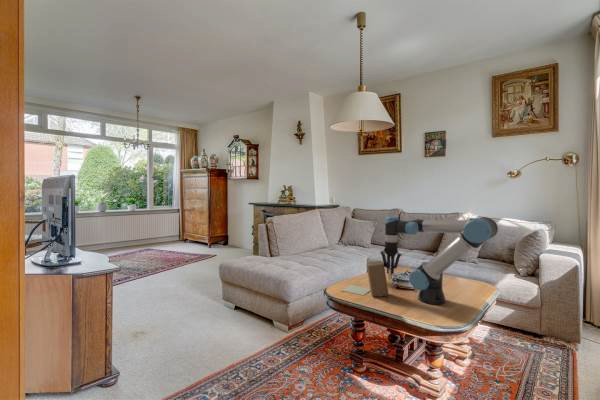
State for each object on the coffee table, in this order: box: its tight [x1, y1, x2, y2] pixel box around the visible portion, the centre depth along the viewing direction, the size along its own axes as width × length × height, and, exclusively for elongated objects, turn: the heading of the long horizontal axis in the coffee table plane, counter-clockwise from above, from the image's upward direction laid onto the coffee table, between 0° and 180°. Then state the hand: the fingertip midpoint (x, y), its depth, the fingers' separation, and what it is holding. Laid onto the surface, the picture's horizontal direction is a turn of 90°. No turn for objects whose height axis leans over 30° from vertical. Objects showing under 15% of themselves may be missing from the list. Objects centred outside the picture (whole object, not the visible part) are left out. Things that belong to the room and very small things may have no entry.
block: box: [365, 260, 389, 298], centre depth 199 cm, size 10×10×20 cm
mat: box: [341, 284, 371, 296], centre depth 209 cm, size 16×14×1 cm
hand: (390, 278), depth 195 cm, fingers closed
